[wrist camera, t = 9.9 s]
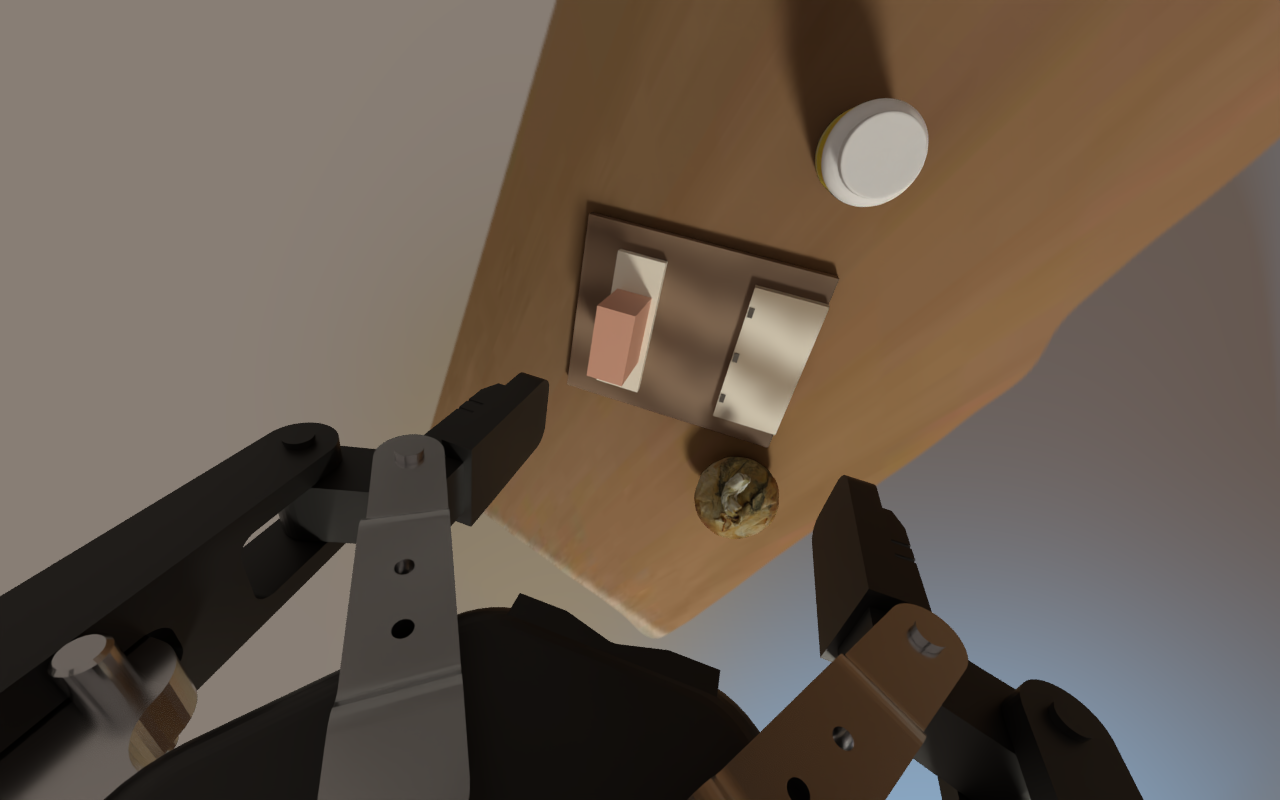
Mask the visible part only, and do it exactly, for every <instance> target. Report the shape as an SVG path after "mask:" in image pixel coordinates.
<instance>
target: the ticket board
mask: <svg viewBox="0 0 1280 800" xmlns="http://www.w3.org/2000/svg"><path fill="white" fill-rule="evenodd" d="M620 249H623V250H627V251H631V252H634V253H638V254H642V255H646V256H649V257H653V258H657V259H660V260H664V261H668V263H667V267H666V272H665V276H664V281H663V285H662V290H661V294H660V299H659V303H658V308H657V312H656V317H655V321H654V326H653V330H652V335H651V339H650V344H649V348H648V352H647V357H646V361H645V366H644V370H643V375H642V379H641V384H640V388H639V390H638V392H634V391H631V390H628V389H624V388H621V387H618V386H615V385H612V384H608V383H605V382H602V381H599V380H597V379H596V378H593V377H590V376H587V370H588V363H589V357H590V350H591V344H592V337H593V330H594V324H595V317H596V311H597V305H598V304H600V303H601V302H602V301H603V300H604V299H606V298H607V297H608V296H609V295H610V294H611V290H612V284H613V277H614V271H615V265H616V259H617V253H618V250H620ZM838 281H839V277H838V276H836V275H832V274H828V273H824V272H820V271H817V270H813V269H809V268H805V267H801V266H797V265H793V264H790V263H786V262H782V261H778V260H774V259H770V258H767V257H763V256H759V255H755V254H751V253H747V252H743V251H740V250H736V249H732V248H728V247H724V246H720V245H717V244H713V243H709V242H705V241H701V240H697V239H693V238H690V237H686V236H682V235H678V234H674V233H670V232H667V231H663V230H659V229H655V228H651V227H647V226H643V225H640V224H636V223H632V222H628V221H624V220H620V219H617V218H613V217H609V216H605V215H601V214H597V213H590V214H589V218H588V225H587V233H586V241H585V249H584V256H583V264H582V272H581V280H580V288H579V295H578V303H577V311H576V319H575V327H574V334H573V342H572V350H571V358H570V366H569V373H568V381H567V385H570V386H573V387H576V388H580V389H583V390H586V391H589V392H592V393H596V394H599V395H602V396H605V397H608V398H611V399H615V400H618V401H621V402H624V403H627V404H630V405H634V406H637V407H640V408H643V409H646V410H649V411H653V412H656V413H659V414H662V415H665V416H668V417H672V418H675V419H678V420H681V421H684V422H687V423H691V424H694V425H697V426H700V427H703V428H707V429H710V430H713V431H716V432H719V433H722V434H726V435H729V436H732V437H735V438H738V439H741V440H745V441H748V442H751V443H754V444H757V445H760V446H764V447H767V448H768V447H769V444H770V442H771V440H772V437H773V435H775V434H776V432H777V430H778V427H779V425H780V423H781V420H782V418H783V416H784V413H785V411H786V409H787V406H788V404H789V401H790V399H791V397H792V394H793V392H794V390H795V387H796V385H797V383H798V380H799V378H800V376H801V373H802V371H803V369H804V366H805V364H806V361H807V359H808V357H809V354H810V352H811V350H812V347H813V345H814V343H815V340H816V338H817V336H818V333H819V331H820V329H821V326H822V324H823V321H824V319H825V317H826V314H827V312H828V310H829V302H830V300H831V298H832V295H833V293H834V290H835V288H836V286H837V283H838Z"/></svg>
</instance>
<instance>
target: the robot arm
mask: <svg viewBox="0 0 1280 800" xmlns="http://www.w3.org/2000/svg"><path fill="white" fill-rule="evenodd" d="M548 393H549V383H548V381H547V380H545V379H542V378H539V377H535V376H532V375H529V374H526V373H519V374H518V375H517V376H516V377H514V378H513V379H512V380H511V381H510V382H509V383H507V384H506V385H502V384H499V383H498V384H495V385H493V386H490V387H487V388H484V389H481V390H480V391H479V392H477V393H476V394H475V395H474V396H472V397H471V398H470V399H469V401H466V402H465V403H464V404H462V405H461V406H460V407H459V409H456V410H455V411H454V412H452V413H451V414H450V415H449V416H447V417H446V418H445V419H443V420H442V421H441V422H440V423H438V424H437V425H436V426H435V427H433V428H432V429H431V430H430V431H428V432H427V433H426V434H425V435H417V434H414V435H413V434H412V435H411V434H410V435H403V436H398V437H395V438H392V439H390V440H387V441H386V442H384V443H383V444H381V445H380V446H379V447H378V448H377V449H368V448H357V447H347V446H340V442H339V436H338V433H337V431H336V430H335V429H334V428H332V427H330V426H328V425H324V424H320V423H298V424H293V425H288V426H285V427H282V428H279V429H277V430H275V431H273V432H271V433H269V434H267V435H266V436H264V437H263V438H261V439H259V440H258V441H256V442H254V443H253V444H251V445H249V446H248V447H246V448H244V449H243V450H241V451H239V452H238V453H236V454H234V455H233V456H231V457H230V458H228V459H226V460H225V461H223V462H221V463H220V464H218V465H216V466H215V467H213V468H211V469H210V470H208V471H206V472H205V473H203V474H202V475H200V476H198V477H196V478H195V479H193V480H192V481H190V482H188V483H187V484H185V485H183V486H182V487H180V488H178V489H177V490H175V491H173V492H172V493H170V494H168V495H167V496H165V497H164V498H162V499H160V500H158V501H157V502H155V503H154V504H152V505H150V506H149V507H147V508H145V509H144V510H142V511H140V512H139V513H137V514H135V515H134V516H132V517H130V518H129V519H127V520H125V521H124V522H122V523H121V524H119V525H117V526H116V527H114V528H112V529H111V530H109V531H107V532H106V533H104V534H102V535H101V536H99V537H97V538H96V539H94V540H92V541H91V542H89V543H88V544H86V545H84V546H83V547H81V548H79V549H78V550H76V551H74V552H73V553H71V554H70V555H68V556H66V557H64V558H63V559H61V560H59V561H58V562H56V563H54V564H53V565H51V566H50V567H48V568H46V569H45V570H43V571H41V572H40V573H38V574H36V575H35V576H33V577H31V578H30V579H28V580H27V581H25V582H23V583H22V584H20V585H18V586H17V587H15V588H13V589H12V590H10V591H8V592H7V593H5V594H3V595H2V596H0V800H885V799H886V798H887V797H888V795H889V794H890V792H891V791H892V789H893V787H894V786H895V785H896V783H897V782H898V780H899V779H900V777H901V776H902V774H903V772H904V771H905V770H906V768H907V766H908V765H909V764H910V762H911V761H912V759H915V760H916V761H917V762H919V763H920V764H922V765H923V766H924V767H926V768H927V769H928V770H930V771H931V772H933V773H934V774H935V775H937V776H938V781H939V786H940V791H941V796H942V800H1143V798H1142V796H1141V794H1140V792H1139V790H1138V788H1137V786H1136V784H1135V782H1134V780H1133V778H1132V776H1131V775H1130V772H1129V770H1128V769H1127V766H1126V764H1125V763H1124V761H1123V759H1122V757H1121V755H1120V753H1119V751H1118V749H1117V747H1116V745H1115V743H1114V741H1113V739H1112V738H1111V736H1110V735H1109V733H1108V731H1107V730H1106V728H1105V727H1104V726H1103V724H1102V723H1101V722H1100V721H1099V720H1098V718H1097V717H1096V716H1095V715H1094V714H1093V713H1092V712H1091V711H1090V710H1089V709H1088V708H1087V707H1086V706H1084V705H1083V704H1082V703H1081V702H1080V701H1078V700H1077V699H1076V698H1075V697H1073V696H1072V695H1070V694H1069V693H1067V692H1066V691H1064V690H1063V689H1061V688H1059V687H1057V686H1055V685H1053V684H1051V683H1048V682H1045V681H1042V680H1028V681H1025V682H1024V683H1023V684H1022V685H1020V686H1019V687H1018V688H1017V689H1014V688H1012V687H1010V686H1009V685H1007V684H1006V683H1004V682H1002V681H1001V680H999V679H998V678H996V677H994V676H993V675H991V674H989V673H988V672H986V671H984V670H983V669H981V668H979V667H978V666H976V665H975V664H973V663H972V662H970V661H969V660H968V655H967V652H966V649H965V647H964V645H963V643H962V642H961V640H960V638H959V637H958V635H957V634H956V633H955V632H954V630H952V628H950V626H949V625H948V624H947V623H945V622H944V621H943V620H942V619H941V618H939V617H938V616H937V615H935V614H934V613H932V611H931V608H930V605H929V602H928V599H927V596H926V593H925V589H924V587H923V583H922V580H921V577H920V574H919V571H918V568H917V565H916V563H914V561H915V558H914V555H913V552H912V549H910V543H909V539H908V537H907V533H906V530H905V528H904V527H903V525H902V524H901V523H900V521H899V520H898V519H897V517H896V516H895V515H894V513H893V512H892V511H890V510H887V509H884V508H882V506H881V502H880V498H879V494H878V491H877V488H876V486H875V485H874V484H871V483H868V482H865V481H862V480H859V479H856V478H852V477H849V476H846V475H843V476H841V477H840V478H839V480H838V481H837V483H836V485H835V487H834V489H833V490H832V492H831V494H830V496H829V498H828V500H827V501H826V503H825V505H824V507H823V509H822V511H821V512H820V514H819V516H818V518H817V520H816V523H815V526H814V530H813V535H812V548H813V562H814V576H815V590H816V604H817V617H818V631H819V645H820V658H823V659H825V660H828V661H831V662H832V663H831V664H830V665H829V666H828V667H827V668H826V669H825V670H823V672H821V674H819V675H818V676H817V677H816V679H814V680H813V681H812V682H811V683H810V684H809V685H808V686H807V687H806V688H805V689H804V690H803V691H802V692H801V693H800V694H799V695H798V696H797V697H796V698H795V699H794V700H793V701H792V702H791V703H790V704H789V705H788V706H787V707H786V708H785V709H784V710H783V711H781V712H780V713H779V714H778V715H777V716H776V717H775V718H774V719H773V720H772V721H771V722H770V723H769V724H768V725H767V726H766V727H765V728H764V729H763V730H762V731H761V732H759V730H758V729H757V728H756V726H755V725H754V724H753V722H752V721H751V720H750V718H749V717H748V716H747V715H746V714H745V712H744V711H742V709H741V708H740V707H739V706H738V705H737V704H736V703H735V702H734V701H733V700H732V699H730V698H729V697H728V696H727V695H726V694H725V693H723V692H722V691H720V690H719V689H718V683H719V676H720V670H718V669H716V668H713V667H711V666H708V665H705V664H703V663H700V662H698V661H695V660H692V659H690V658H687V657H685V656H682V655H679V654H677V653H674V652H672V651H669V650H662V649H652V648H645V647H637V646H629V645H620V644H615V643H612V642H610V641H608V640H607V639H605V638H604V637H603V636H601V635H600V634H598V633H597V632H595V631H594V630H593V629H591V628H590V627H588V626H587V625H586V624H584V623H583V622H581V621H580V620H578V619H577V618H576V617H574V616H573V615H572V614H570V613H569V612H567V611H565V610H563V609H560V608H557V607H555V606H552V605H550V604H547V603H545V602H542V601H539V600H537V599H534V598H532V597H529V596H526V595H524V594H521V593H520V594H519V595H518V597H517V599H516V601H515V602H514V604H513V606H512V607H511V608H505V607H490V608H482V609H476V610H472V611H467V612H463V613H461V614H458V615H457V606H456V593H455V580H454V566H453V551H452V538H451V525H452V524H453V523H454V522H455V521H457V522H460V523H463V524H465V525H468V526H472V525H473V524H474V523H475V521H476V520H477V519H478V518H479V517H480V515H481V514H482V513H483V512H484V511H485V509H486V508H487V507H488V506H489V505H490V503H491V502H492V501H493V500H494V499H495V497H496V496H497V495H498V494H499V493H500V491H501V490H502V489H503V488H504V486H505V485H506V484H507V483H508V482H509V480H510V479H511V478H512V477H513V476H514V474H515V473H516V472H517V471H518V470H519V468H520V467H521V466H522V465H523V464H524V462H525V461H526V460H527V459H528V457H529V456H530V455H531V454H532V453H533V451H534V450H535V449H536V448H537V446H538V445H539V443H540V441H541V439H542V436H543V433H544V429H545V422H546V412H547V403H548ZM277 514H279V517H280V519H278V520H277V521H276V522H275V523H273V524H272V525H271V526H270V527H269V528H267V529H266V530H265V531H264V532H262V533H261V534H260V535H258V536H257V537H256V538H255V539H253V540H252V541H251V542H250V543H248V544H247V545H246V546H245V547H243V546H244V544H245V542H246V541H247V539H248V538H249V537H250V536H251V534H253V533H254V532H255V531H256V530H257V529H259V528H260V527H261V526H263V525H264V524H265V523H266V522H268V521H269V520H270V519H271V518H273V517H274V516H275V515H277ZM345 543H355V544H356V550H355V558H354V565H353V573H352V582H351V589H350V598H349V605H348V612H347V620H346V628H345V636H344V644H343V652H342V660H341V667H340V670H338V671H335V672H334V673H331V674H329V675H327V676H325V677H323V678H321V679H319V680H317V681H314V682H312V683H310V684H308V685H306V686H304V687H302V688H300V689H298V690H296V691H294V692H291V693H289V694H288V695H285V696H283V697H281V698H279V699H276V700H274V701H272V702H270V703H268V704H266V705H264V706H262V707H260V708H258V709H255V710H253V711H251V712H249V713H247V714H245V715H243V716H241V717H239V718H236V719H234V720H232V721H230V722H228V723H226V724H224V725H222V726H220V727H218V728H216V729H213V730H211V731H209V732H207V733H205V734H203V735H201V736H199V737H196V738H194V739H192V740H190V741H188V742H186V743H184V744H182V745H181V746H179V747H177V748H175V746H176V744H177V742H178V738H179V734H180V733H181V732H182V730H183V729H184V728H185V727H186V725H187V724H188V722H189V721H190V719H191V717H192V715H193V713H194V711H195V708H196V704H197V690H198V689H199V688H200V687H201V686H202V685H203V684H204V683H205V682H206V681H207V680H208V679H209V678H210V677H211V676H212V675H213V674H214V673H215V672H216V671H217V670H218V669H219V668H220V667H221V666H222V665H223V664H224V663H225V662H226V661H227V660H228V659H229V658H230V657H231V656H232V655H233V654H234V653H235V652H236V651H237V650H238V649H239V648H240V647H241V646H242V645H243V644H244V643H245V642H246V641H247V640H248V639H249V638H250V637H251V636H252V635H253V634H254V633H255V632H256V631H258V629H260V627H262V625H264V624H265V623H266V622H267V621H268V620H269V619H270V618H271V616H273V614H275V612H276V611H278V610H279V609H280V608H281V607H282V606H283V605H284V604H285V603H286V602H287V601H288V600H289V599H290V598H291V597H292V596H293V595H294V594H295V593H296V592H297V591H298V590H299V589H300V588H301V587H302V586H303V585H304V584H305V583H306V582H307V581H308V580H309V579H310V578H311V577H312V576H313V575H314V574H315V573H316V572H317V571H318V570H319V569H320V568H321V567H322V566H323V565H324V564H325V563H326V562H327V561H328V560H329V559H330V558H331V557H332V556H333V555H334V554H335V553H336V552H337V551H338V550H339V549H340V548H341V547H342V546H343V545H344V544H345ZM174 748H175V749H174Z"/></svg>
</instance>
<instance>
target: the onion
mask: <svg viewBox="0 0 1280 800" xmlns="http://www.w3.org/2000/svg"><path fill="white" fill-rule="evenodd" d="M694 500H695V507H696V511H697V514H698V516H699V518H700V519H701V521H702V522H703V523H704V525H705V526H706V527H707V528H708V529H710V530H711V531H712V532H714V533H715V534H716V535H718V536H721V537H725V538H730V539H739V538H746V537H749V536H752V535H755V534H757V533H759V532H761V531H762V530H763V529H765V528H766V527H767V526H768V525H770V524H771V523H772V521H773V519H774V517H775V515H776V513H777V510H778V505H779V489H778V485H777V483H776V480H775V479H774V478H773V476H772V475H771V473H770V472H769V471H768V470H767V469H766V468H765V467H764V466H762V465H761V464H760V463H758V462H756V461H754V460H752V459H749V458H742V457H726V458H724V459H721V460H719V461H717V462H715V463H713V464H711V465H710V466H709V467H708V468H707V469H706V470H705V471H704V472H703V473H702V474H701V476H700V479H699V482H698V485H697V487H696V491H695V497H694Z"/></svg>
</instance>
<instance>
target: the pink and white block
mask: <svg viewBox="0 0 1280 800" xmlns="http://www.w3.org/2000/svg"><path fill="white" fill-rule="evenodd" d="M667 263H668V261H664V260H660V259H657V258H653V257H649V256H646V255H642V254H638V253H634V252H631V251H627V250H623V249H620V250H618V253H617V259H616V265H615V271H614V277H613V284H612V290H611V294H610V295H609V296H608V297H607V298H606V299H604V300H603V301H602V302H601V303H600V304H598V305H597V311H596V317H595V324H594V330H593V337H592V344H591V350H590V357H589V363H588V370H587V376H590V377H593V378H596V379H597V380H599V381H602V382H605V383H608V384H612V385H615V386H618V387H621V388H624V389H628V390H631V391H634V392H638V390H639V388H640V384H641V379H642V375H643V370H644V366H645V361H646V357H647V352H648V348H649V344H650V339H651V335H652V330H653V326H654V321H655V317H656V312H657V308H658V303H659V299H660V294H661V290H662V285H663V281H664V276H665V272H666V267H667Z"/></svg>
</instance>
